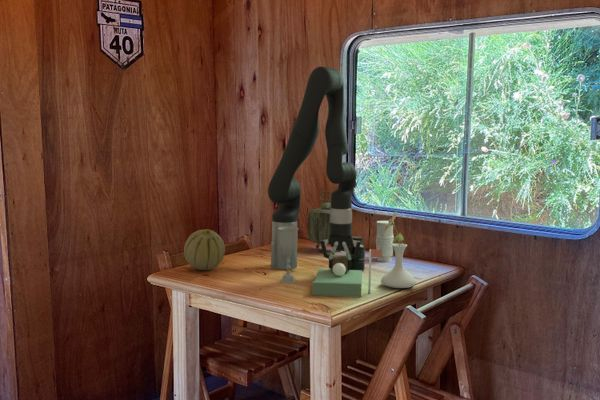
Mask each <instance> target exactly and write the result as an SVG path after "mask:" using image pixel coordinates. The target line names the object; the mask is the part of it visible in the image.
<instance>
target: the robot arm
mask: <svg viewBox="0 0 600 400" xmlns="http://www.w3.org/2000/svg"><path fill="white" fill-rule="evenodd" d="M325 97H326V100H327V106H328V108H327V109H328V110H327V111H328V113H327V119H326V123H325V129H324V134H325V135H324V136H325V142H326V143H325V144H326V148H327V155H326V166H325V170H326V172H325V174H326V176H327V178H328V181H329V182H331V184H333V185H334V184H335V185H337V189H335V190H333V191H332V192H331V193H332V194H330V200H331V201H330V204H331V211H330V237H329V239H327V240H321V244H320V245H321V246H320V247H321V249H322V251H323V252H322V251H321V252H322V255H323V258H326V259H328V268H329V269H331V270H332V258H333V255H335V253H336V252H345V255H347V258H348V260H347V271H349V269H351V260H352V259H356V258H357V255H358V251H359V247H360V241H356V240H353V238H352V236H353V235H352V233H353V232H352V231H353V212H352V207H353V205H352V196H353V193H354V189H355V185H356V183H357V182H356V180H357V175H358V174H357V168H356V166H355V165H354V164H353V163H352V162H347V161H345V162H343V157H344V156H345V155H347V154H348V152H349V146H348V138H347V131H346V126H345V125H346V124H345V81H344V76H343V74H342V72H341V71H340V70H339V69H337V68H333V67H329V66H317V67H316V68H314V69H313V70H312V71H311V73H310V75H309V77H308V80H307V83H306V87H305V91H304V94H303V98H302V100H301V101H302V102H301V105H300V107H299V110H298V113H297V116H296V119H295V122H294V124H293V127H292V129H291V132H290V135H289V137H288V140H287V142H286V143H287V144H286V146H285V148H284V151H283V153H282V156H281V158H280V161H279V163H278V165H277V167H276V170H275V171H274V173H273V175H272V176H271V179H270V181H269V183H268V187H267V196H268V198H269V200H270V201H271V202H273V203H274V204H279V205H278V207H277V209H276V210H275V211H274V212H273V213H272V215H271V224H272V225H271V234H272V235H271V242H270V268H271V269H276V270H283V271H284V270H286V271H287V268H286V266H287V262H286V261H287V256H286V255H284V253H283V251H282V249H281V246H280V231H279V229H278V228H280V227H298V216H299V214H300V210H301V209H300V208H301V195H302V194H301V193H302V192H301V186H300V182H299V181H298V179H297V178H295V174H296V172H297V171H298V169H299V168H300V167H301V165H302V164H303V163H304V162H305V161H306V159H307V158H308V157H309V156H310V154H311V153H312V152H313V150H314V147H315V144H316V142H317V139H318V138H319V137H318V136H319V133H320V121H319V113H320V109H321V105H322V104H323V103H322V102H323V100H324V98H325ZM328 242H329V243H330V244H329V245H330V246H331V250H330V253H328V251H327V250H328V249H327V246H328V244H327V243H328ZM352 243H353V244H354V247H355V251H354V254H353V255H351V253H350V250H349V247H350V245H351V244H352ZM340 250H341V251H340ZM290 261H291V262H290V267H291V268H290V270H294V269H297V268H298V244H297V245H296V248H295V250H294V253H293V255H291V256H290Z"/></svg>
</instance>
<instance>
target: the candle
mask: <svg viewBox="0 0 600 400" xmlns="http://www.w3.org/2000/svg"><path fill="white" fill-rule="evenodd" d="M388 223H389V220H377V221H376V235H375V246H376V249H378V250H382V257H376V260H377V262H378V261H379V262H391V261H392V260H393V259H392V257H393V256H394V248H393V246H392V244H395V243H393V240H394V239H395V236H394V226H393V225H391V226H390V227H389V229H388V230H387V231H386V232H385V233H384V231H383V230H384V229H385V226H386V225H387V224H388Z"/></svg>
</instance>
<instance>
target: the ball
mask: <svg viewBox="0 0 600 400" xmlns="http://www.w3.org/2000/svg"><path fill="white" fill-rule="evenodd" d="M345 272H346V268H345V266H344V265H343V264H342V263H336V264H335V265H334V266H333V273H334V274H335V275H336V276H342V275H344V274H345Z"/></svg>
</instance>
